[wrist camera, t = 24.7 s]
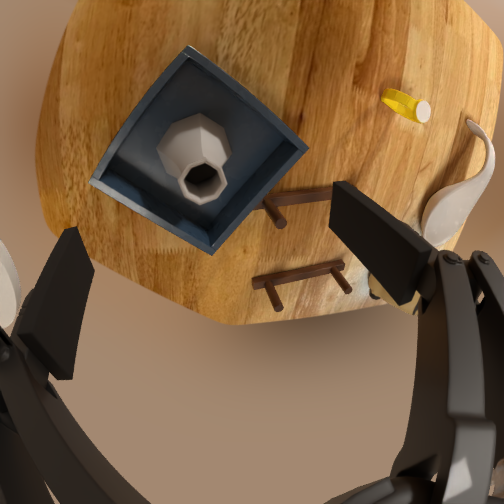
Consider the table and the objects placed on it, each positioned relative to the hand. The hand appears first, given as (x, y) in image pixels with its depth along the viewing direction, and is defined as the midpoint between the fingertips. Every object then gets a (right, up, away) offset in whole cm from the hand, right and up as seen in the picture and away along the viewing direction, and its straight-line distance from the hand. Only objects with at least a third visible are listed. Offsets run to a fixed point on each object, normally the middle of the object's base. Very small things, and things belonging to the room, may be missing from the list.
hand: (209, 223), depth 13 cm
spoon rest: (+35, +11, +24) cm, 44 cm away
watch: (+19, +18, +15) cm, 30 cm away
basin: (-4, +9, +13) cm, 16 cm away
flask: (-4, +9, +13) cm, 16 cm away
